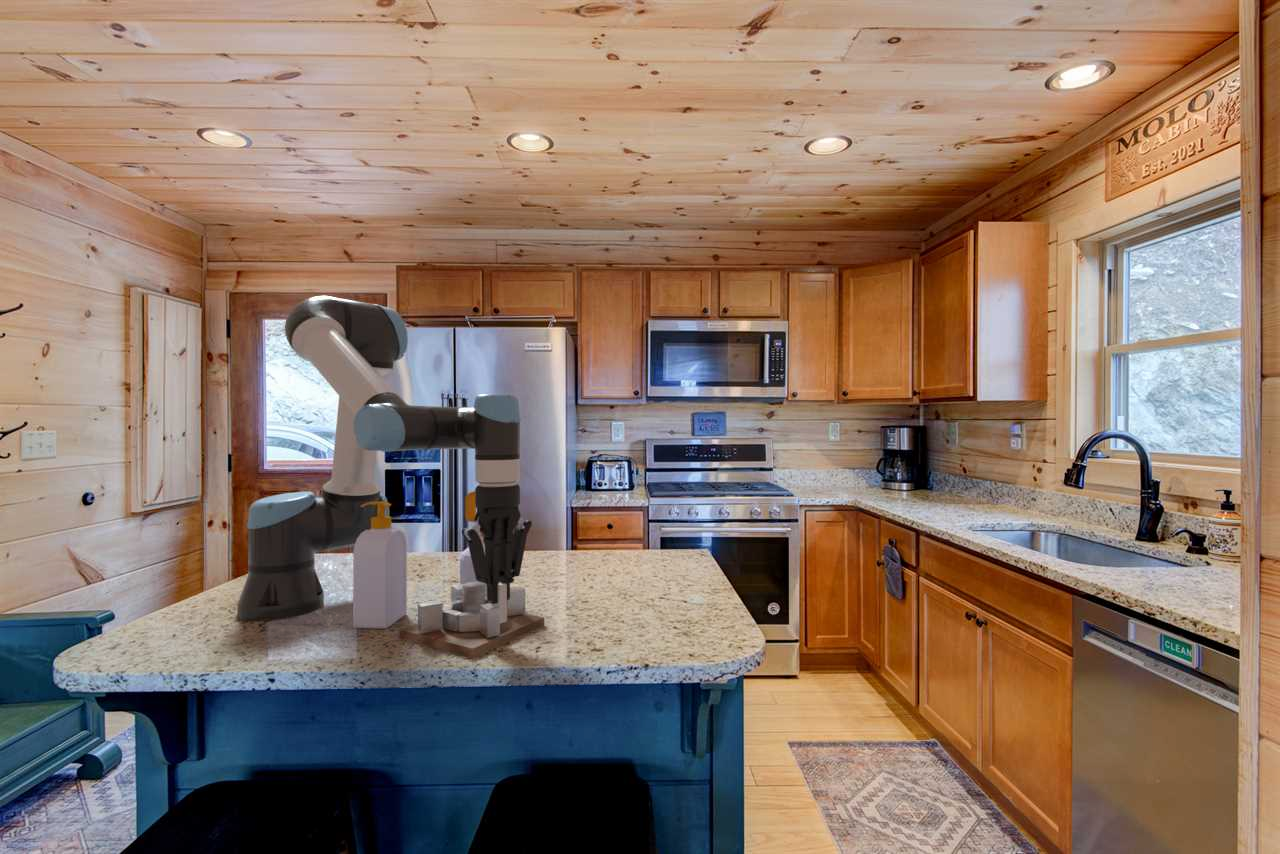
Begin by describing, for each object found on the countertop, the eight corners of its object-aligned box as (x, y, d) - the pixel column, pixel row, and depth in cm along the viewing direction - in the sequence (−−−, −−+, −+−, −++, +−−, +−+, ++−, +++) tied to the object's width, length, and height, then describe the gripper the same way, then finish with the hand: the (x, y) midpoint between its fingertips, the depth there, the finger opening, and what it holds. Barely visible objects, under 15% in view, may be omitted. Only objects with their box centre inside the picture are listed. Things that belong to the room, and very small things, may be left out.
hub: (397, 638, 103) (397, 590, 103) (474, 610, 119) (474, 568, 119) (470, 658, 94) (470, 605, 94) (544, 625, 110) (544, 580, 110)
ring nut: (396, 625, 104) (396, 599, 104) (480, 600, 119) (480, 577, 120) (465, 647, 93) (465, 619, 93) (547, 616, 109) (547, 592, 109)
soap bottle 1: (372, 613, 117) (372, 499, 117) (407, 614, 116) (407, 499, 117) (348, 629, 108) (348, 504, 108) (385, 629, 107) (386, 505, 108)
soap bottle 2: (492, 609, 119) (492, 489, 119) (451, 607, 121) (451, 488, 121) (510, 597, 128) (510, 485, 128) (472, 595, 130) (472, 484, 130)
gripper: (515, 479, 108) (516, 607, 108) (452, 485, 98) (453, 625, 98) (541, 482, 103) (542, 616, 103) (477, 488, 93) (478, 636, 93)
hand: (498, 620), depth 101 cm, fingers closed
